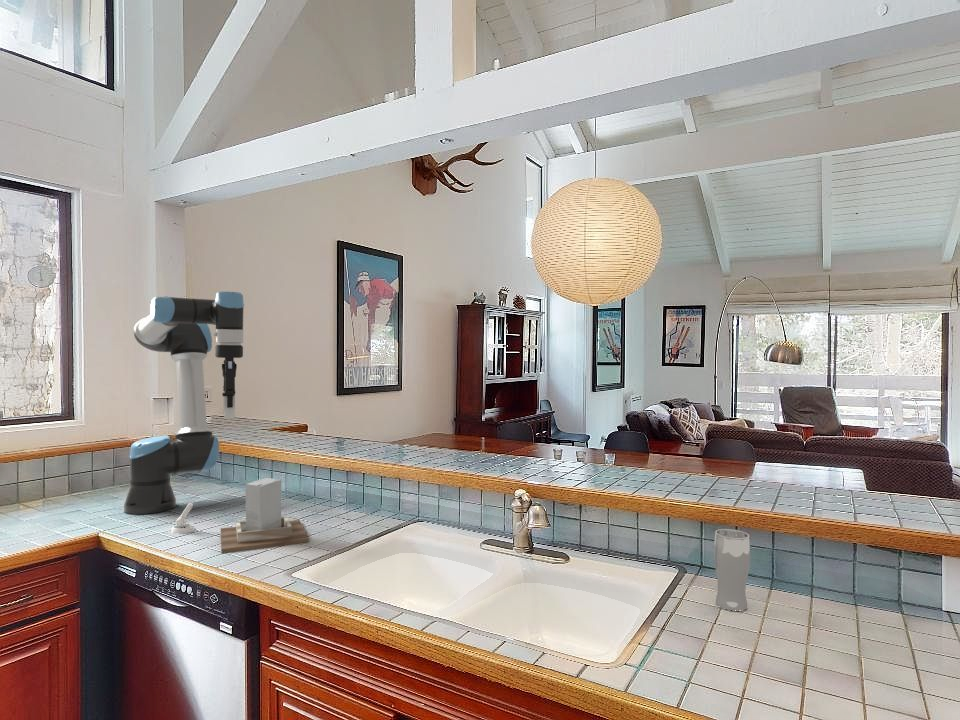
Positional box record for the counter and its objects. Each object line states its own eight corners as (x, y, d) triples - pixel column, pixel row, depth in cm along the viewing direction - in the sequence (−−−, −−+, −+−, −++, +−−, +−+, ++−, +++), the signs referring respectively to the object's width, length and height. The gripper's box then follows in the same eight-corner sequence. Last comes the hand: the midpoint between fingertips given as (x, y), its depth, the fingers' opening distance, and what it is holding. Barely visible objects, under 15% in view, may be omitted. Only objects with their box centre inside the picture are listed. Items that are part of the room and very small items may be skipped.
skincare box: (266, 528, 172) (266, 477, 172) (282, 530, 170) (282, 478, 169) (244, 536, 164) (244, 482, 164) (260, 539, 162) (260, 484, 162)
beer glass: (707, 599, 126) (708, 528, 126) (738, 598, 126) (739, 528, 126) (723, 613, 119) (724, 539, 119) (756, 612, 119) (757, 538, 119)
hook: (202, 519, 170) (183, 508, 168) (183, 545, 171) (165, 535, 170) (209, 508, 176) (191, 498, 174) (191, 534, 177) (174, 524, 176)
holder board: (220, 531, 172) (220, 519, 172) (299, 523, 181) (299, 511, 181) (221, 552, 153) (221, 539, 153) (308, 542, 163) (308, 529, 162)
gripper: (214, 343, 185) (214, 411, 185) (216, 344, 162) (215, 421, 163) (240, 344, 188) (240, 410, 188) (245, 345, 165) (244, 420, 166)
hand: (228, 416), depth 176 cm, fingers open, 13 cm apart
